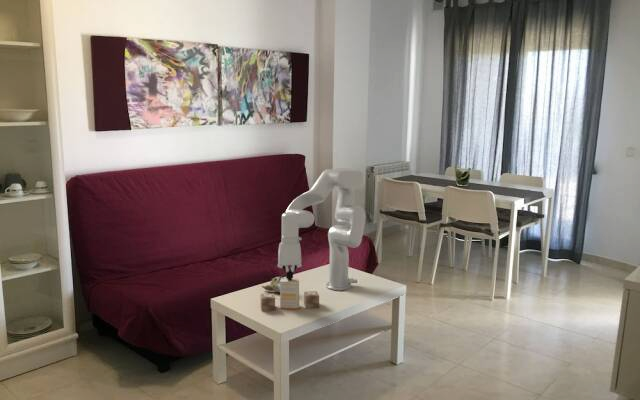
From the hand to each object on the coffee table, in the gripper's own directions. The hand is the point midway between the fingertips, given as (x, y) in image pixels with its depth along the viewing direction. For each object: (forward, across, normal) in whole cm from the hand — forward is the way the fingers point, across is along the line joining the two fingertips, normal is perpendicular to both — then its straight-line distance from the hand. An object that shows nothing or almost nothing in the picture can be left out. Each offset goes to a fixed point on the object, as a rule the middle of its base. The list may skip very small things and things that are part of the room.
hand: (289, 279), depth 245 cm
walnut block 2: (+13, -10, 0) cm, 17 cm away
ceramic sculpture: (+13, +2, -21) cm, 25 cm away
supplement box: (+13, 0, 0) cm, 13 cm away
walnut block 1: (+13, +10, 0) cm, 17 cm away
